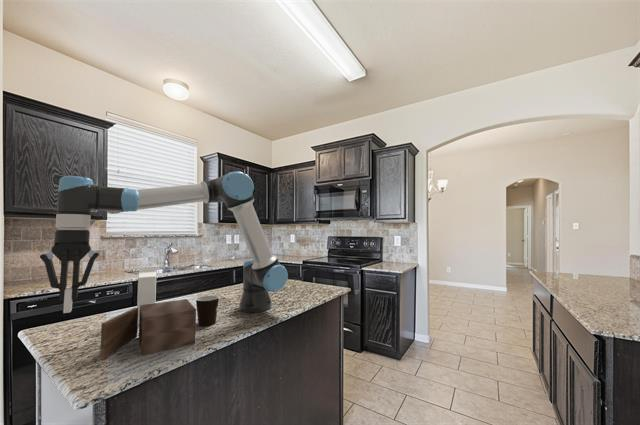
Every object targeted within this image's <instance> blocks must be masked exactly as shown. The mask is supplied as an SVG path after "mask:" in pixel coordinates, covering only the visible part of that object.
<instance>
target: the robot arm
mask: <svg viewBox="0 0 640 425" xmlns="http://www.w3.org/2000/svg"><path fill="white" fill-rule="evenodd" d="M254 190H255V186H254V182H253V180H252V178H251V176H249V175H248V174H247V173H244V172H242V171H239V170H238V171H231V172H228V173H225V174H224V175H221V176H218V177H216V178H213V179H210V180H203V181H201V182H200V183H195V184H194V183H193V184H184V185H174V186H173V185H172V186H163V187H151V188H141V189H136V188H135V189H134V188H129V187H114V186H102V185H96V184H94V181H93V179H91V178H89V177H85V176H78V175H64V176H62V177H61V178H60V179H59V182H58V189H57V197H56V198H57V200H56V203H57V204H56V214H55V216H56V217H55V228H57V230H55V231H54V240H53V241H54V242H53V243H54V245H53V246H52V247H51V250H50V251H48V252H45V253H43V254H40V255H39V258H40V259H41V260H42V261H43V263H44V266H45V270H46V274H47V277H48V281H49V285H50V287H51V288H52V289H58V290H59V294H58V295H59V296H58V300H59V301H61V302H63V314H67V313H71V312H72V310H73V300H74V301H75V300H77V298H78V297H79V288H80V287H81V286H85V285H86V284H87V283H88V279H89V278H90V274H91V271H92V269H93V266H94V263H95V260H96V259H97V258H98V257H99V256H100V252H98V251H94V250H93V249H92V247H91V245H90V236H91V232H90V230H89V229H90V228H91V220H92V219H91V216H92V210H93V211H105V212H107V213H108V214H110V215H111V214H120V213H128V212H137V211H139V210H147V209H153V208H162V207H169V206H170V207H171V206H178V205H186V204H194V203H199V202H200V203H201V202H203V203H204V204H211V203H224V204H225V206H226V208H227V210H229V211H230V212H232V213H233V216H234V218H235V220H236V223H237V225H238V228H239V230H240V232H241V235H242V238H243V240H244V243H245V245H246V247H247V249H248V252H249V255H250V258H251V259H249V260H245V261H243V268H242V269H243V271H242V274H243V275H242V276H243V277H242V279H243V281H242V282H243V283H242V285H243V287H242V289H243V290H242V295H241V298H240V301H239V305H238V309H239V311H240V312H244V313H261V312H265V311H269V310H270V309H271V308H272V300H271V296H270V293H269V292H273V293H274V292H275V293H276V292H278V291H280V290H282V289H283V288H284V287H285V286H286V285H287V284H286V283H287V281H288V278H289V274H288V270H287V269H286V267H285V266H284V265H282V264H280V261H279V259H278V257H277V255H275V254H273V253H272V251H271V248H270V245H269V243H268V240H267V238H266V235H265V233H264V230H263V227H262V225H261V222H260V220H259V218H258V215H257V211H256V210H255V207H254V204H253V203H254V202H255V197H254V194H253V193H254ZM87 254H88V258H89V260H88V262H87V265H86V267H85V269H84V273H83V275H82V277H81V281H80V270H81V269H80V267H81V261H82V260H83V259H84V258H85V257H86V256H87ZM53 255H54V256H55V257H56V258H57V259H58V260H59V261H60V266H61V267H60V274H59V275H60V276H59V281H58V276H57V273H56V269H55V266H54V262H53V258H54V256H53ZM70 262H72V278H71V279H72V280H71V282H72V283H71V287H67V286H68V273H69V264H70Z"/></svg>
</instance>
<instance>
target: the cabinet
mask: <svg viewBox="0 0 640 425" xmlns="http://www.w3.org/2000/svg"><path fill="white" fill-rule="evenodd" d="M196 322H197V308H196V307H195V306H194V305H193V304H192V303H191V301H189V299H187V298H185V299H178V300H170V301H162V302H155V303H154V304H147V305H140V315H139V326H138V343H139V351H140V356H145V355H149V354H150V355H151V354H154V353H159V352H164V351H168V350H173V349H177V348H180V347H185V346H189V345H194V344H196V326H197V323H196Z"/></svg>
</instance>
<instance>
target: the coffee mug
mask: <svg viewBox="0 0 640 425" xmlns="http://www.w3.org/2000/svg"><path fill="white" fill-rule="evenodd" d="M219 300H220V296H219V295H204V296H200V297H196V298H195V304H196V316H197V323H198V326H200V327H209V326H212V325H215V324H216V322H217V315H218V308H219V302H220V301H219Z"/></svg>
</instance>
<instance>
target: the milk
mask: <svg viewBox="0 0 640 425" xmlns="http://www.w3.org/2000/svg"><path fill="white" fill-rule="evenodd" d="M137 280H138V281H137V305H136V308H138V325H137V327H139V315H140V305H147V304H154V303H156V298H157V295H156V294H157V267H145V268H142V267H141V268H139V269H138V279H137Z"/></svg>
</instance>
